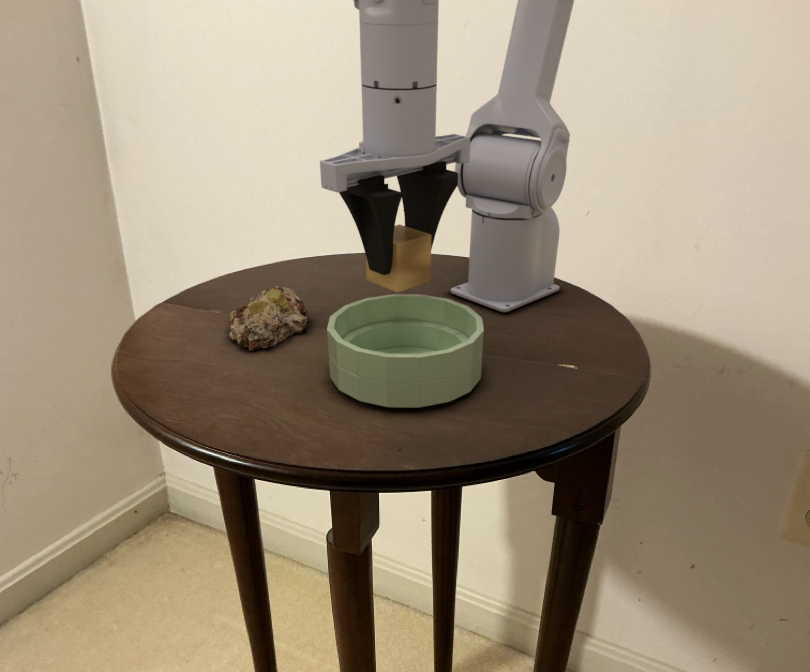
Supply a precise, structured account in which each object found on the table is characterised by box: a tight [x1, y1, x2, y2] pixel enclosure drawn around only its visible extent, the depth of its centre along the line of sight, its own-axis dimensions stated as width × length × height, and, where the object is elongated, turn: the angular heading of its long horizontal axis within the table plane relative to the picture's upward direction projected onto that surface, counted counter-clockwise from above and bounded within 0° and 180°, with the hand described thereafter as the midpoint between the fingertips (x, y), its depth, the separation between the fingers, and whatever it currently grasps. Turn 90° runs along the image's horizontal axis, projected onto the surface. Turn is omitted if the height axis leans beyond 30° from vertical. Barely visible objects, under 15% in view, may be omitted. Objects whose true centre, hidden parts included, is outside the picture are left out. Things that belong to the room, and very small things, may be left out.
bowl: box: [326, 293, 485, 409], centre depth 67 cm, size 13×13×5 cm
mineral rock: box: [228, 285, 308, 352], centre depth 76 cm, size 11×4×8 cm
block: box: [365, 224, 432, 293], centre depth 66 cm, size 4×4×4 cm
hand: (399, 265), depth 66 cm, fingers closed on block, 4 cm apart
